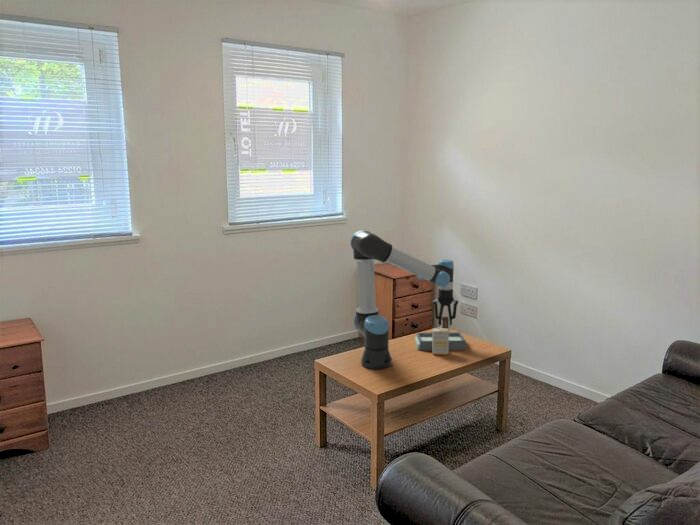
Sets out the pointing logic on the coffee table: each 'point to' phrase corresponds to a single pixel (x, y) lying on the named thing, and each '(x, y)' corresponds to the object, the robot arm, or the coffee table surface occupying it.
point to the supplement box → (440, 341)
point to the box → (455, 341)
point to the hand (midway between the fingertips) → (444, 330)
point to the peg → (445, 322)
